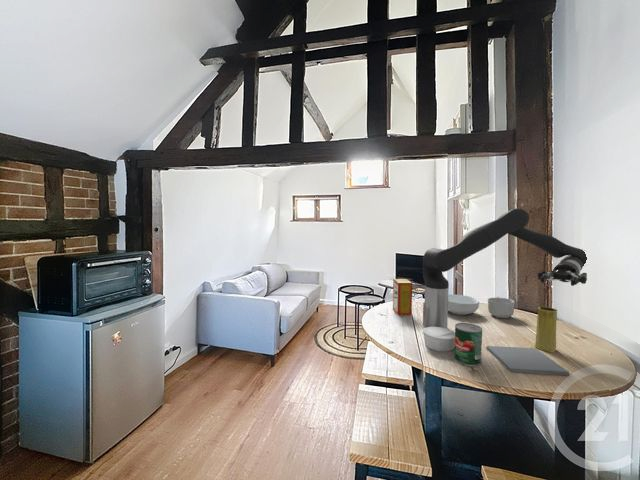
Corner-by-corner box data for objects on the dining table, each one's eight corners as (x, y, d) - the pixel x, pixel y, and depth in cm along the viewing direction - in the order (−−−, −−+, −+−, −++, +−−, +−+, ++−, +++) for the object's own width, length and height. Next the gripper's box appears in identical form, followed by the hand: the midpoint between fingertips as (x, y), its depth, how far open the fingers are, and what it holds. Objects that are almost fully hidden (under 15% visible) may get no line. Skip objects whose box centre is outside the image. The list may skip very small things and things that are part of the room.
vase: (560, 352, 100) (562, 311, 99) (540, 351, 101) (542, 310, 100) (550, 345, 106) (552, 306, 105) (531, 344, 107) (533, 305, 106)
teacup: (514, 321, 131) (514, 304, 130) (486, 317, 137) (487, 300, 136) (513, 313, 143) (513, 297, 142) (487, 309, 149) (488, 294, 148)
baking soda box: (411, 315, 140) (412, 282, 139) (397, 315, 140) (398, 282, 139) (405, 309, 149) (406, 278, 148) (392, 309, 149) (393, 278, 148)
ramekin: (454, 356, 97) (455, 340, 97) (419, 349, 103) (420, 334, 102) (457, 344, 107) (457, 329, 107) (425, 338, 112) (425, 324, 112)
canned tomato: (452, 362, 93) (453, 328, 92) (455, 352, 100) (456, 321, 99) (480, 368, 89) (481, 333, 88) (481, 358, 95) (483, 325, 95)
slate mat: (510, 371, 87) (510, 368, 87) (486, 348, 103) (486, 345, 103) (568, 375, 85) (569, 371, 85) (535, 351, 101) (535, 348, 101)
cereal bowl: (437, 313, 142) (437, 299, 141) (444, 305, 156) (444, 292, 155) (476, 320, 132) (476, 305, 132) (480, 311, 146) (481, 297, 145)
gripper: (545, 260, 123) (533, 270, 113) (590, 262, 112) (582, 273, 102) (545, 277, 124) (534, 288, 114) (591, 281, 113) (583, 294, 103)
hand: (557, 281), depth 108 cm, fingers open, 8 cm apart
